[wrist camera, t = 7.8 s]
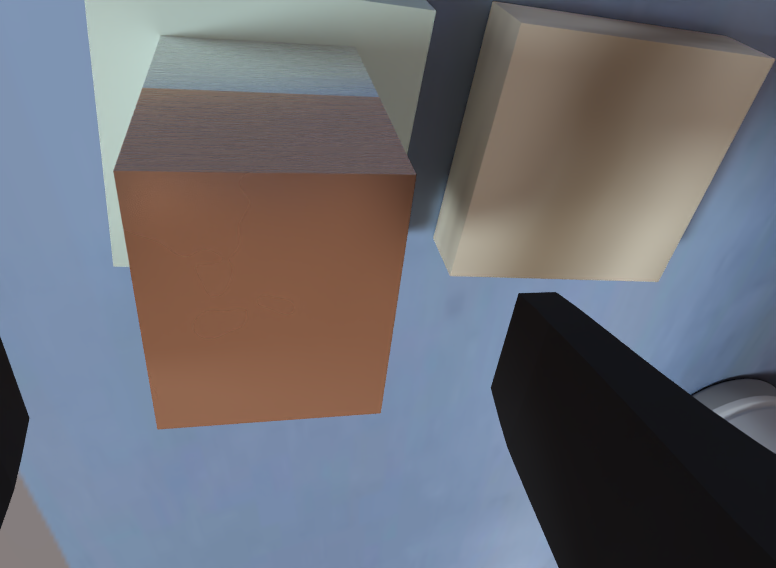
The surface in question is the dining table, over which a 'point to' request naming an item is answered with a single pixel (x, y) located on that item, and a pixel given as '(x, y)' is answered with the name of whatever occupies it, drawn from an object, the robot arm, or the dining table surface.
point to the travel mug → (745, 407)
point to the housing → (263, 231)
